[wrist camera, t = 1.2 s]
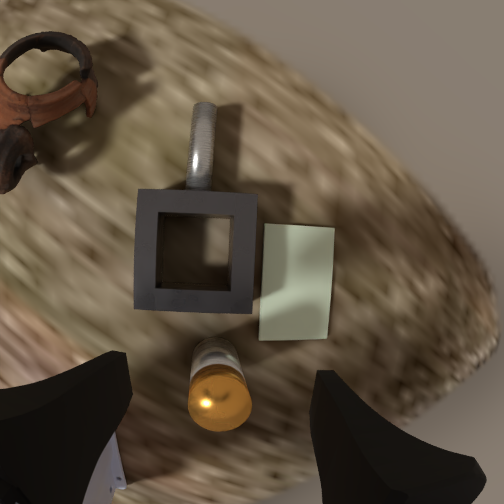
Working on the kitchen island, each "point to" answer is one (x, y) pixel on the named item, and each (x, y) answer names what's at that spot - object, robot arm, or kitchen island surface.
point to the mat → (295, 282)
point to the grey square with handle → (205, 206)
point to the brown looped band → (38, 103)
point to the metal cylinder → (218, 386)
